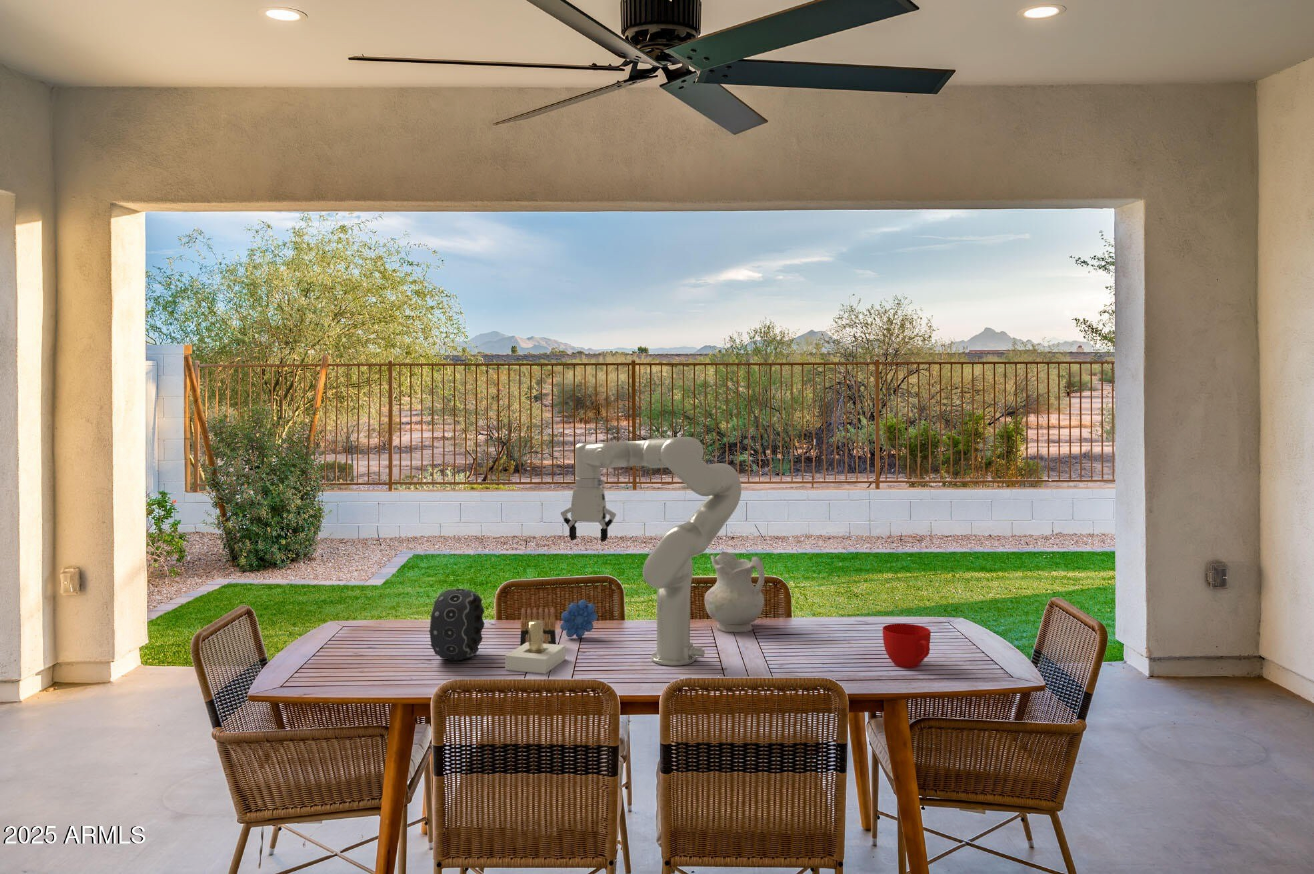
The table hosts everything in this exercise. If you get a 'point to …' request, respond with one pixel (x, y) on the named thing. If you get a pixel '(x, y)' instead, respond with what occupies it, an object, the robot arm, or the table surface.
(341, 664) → the table surface
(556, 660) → the white square socket block
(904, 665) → the ceramic cup
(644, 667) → the table surface
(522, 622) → the ammunition clip
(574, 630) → the blue lumpy cluster
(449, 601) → the dark grey toy tire
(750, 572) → the ceramic pitcher
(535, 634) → the gold cylindrical peg
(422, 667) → the table surface
